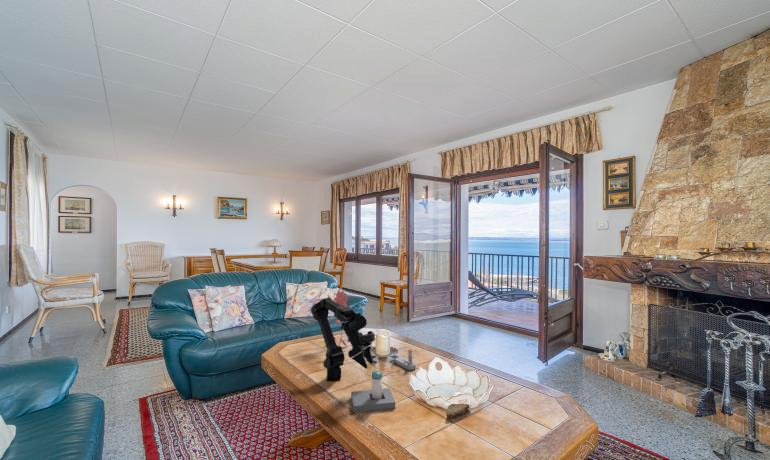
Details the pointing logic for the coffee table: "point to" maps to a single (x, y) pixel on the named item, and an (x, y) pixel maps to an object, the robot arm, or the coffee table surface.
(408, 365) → the electronic device
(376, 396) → the peg
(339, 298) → the figurine
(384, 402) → the socket board
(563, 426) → the coffee table surface
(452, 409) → the stone
